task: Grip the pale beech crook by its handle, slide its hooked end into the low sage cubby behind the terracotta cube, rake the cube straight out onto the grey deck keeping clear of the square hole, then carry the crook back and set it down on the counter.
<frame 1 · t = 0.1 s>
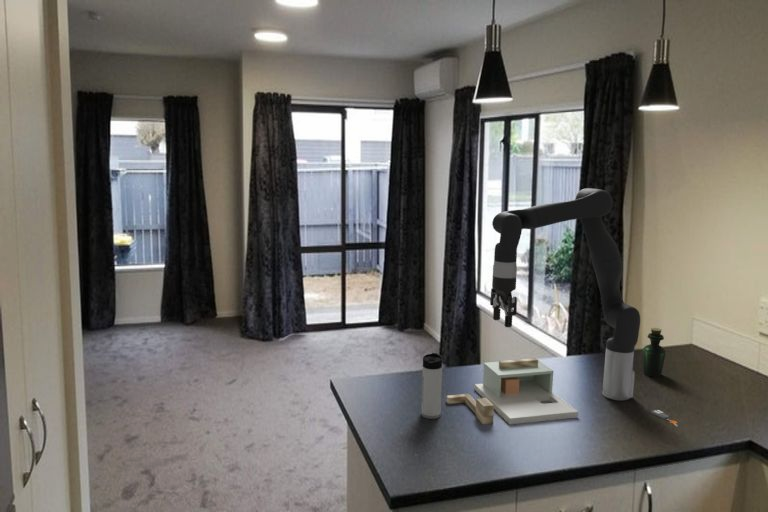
hand: (502, 323, 199), 29 cm above the counter, fingers open, 8 cm apart
deck: (525, 404, 207), on the counter
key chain: (668, 422, 196), on the counter
stick: (518, 366, 215), point 10 cm above the counter, touching deck
potion bottle: (652, 374, 237), on the counter
crook: (484, 419, 195), on the counter
cube: (508, 390, 214), point 2 cm above the counter, touching deck
travel mug: (431, 415, 198), on the counter
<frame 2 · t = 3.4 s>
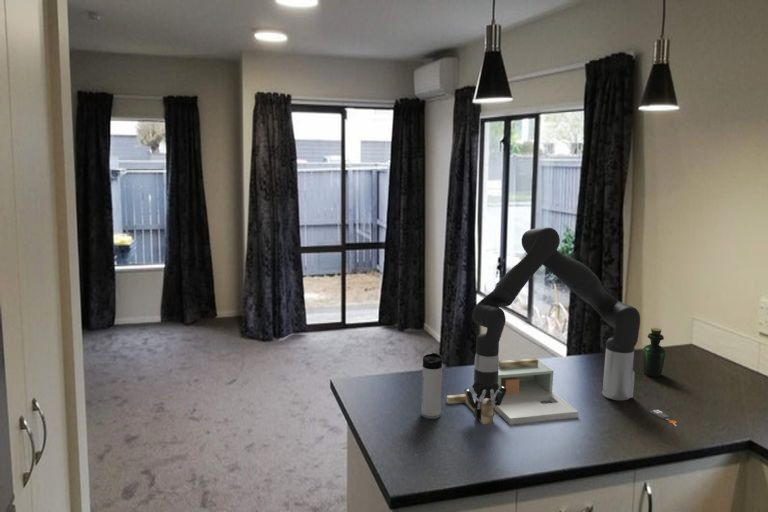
hand: (484, 418, 195), 1 cm above the counter, fingers closed on crook, 3 cm apart
crook: (484, 419, 195), on the counter, touching gripper
everything else where it was.
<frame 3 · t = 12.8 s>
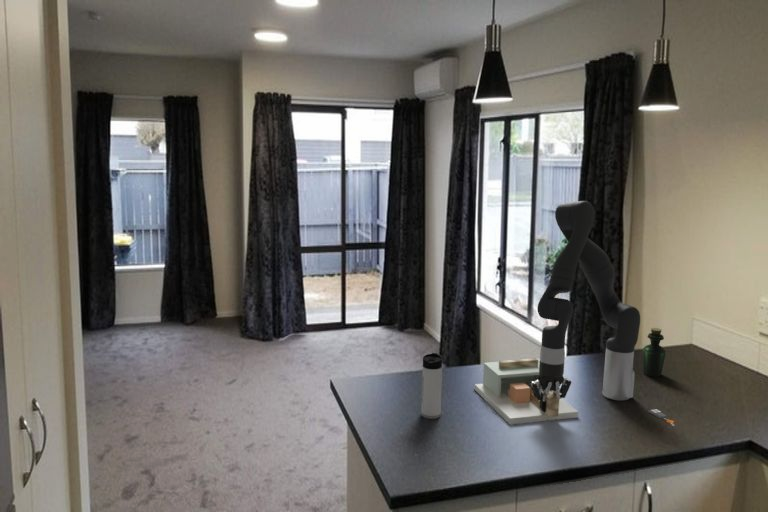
hand: (548, 410, 196), 3 cm above the counter, fingers closed on crook, 3 cm apart
crook: (548, 412, 196), point 2 cm above the counter, touching deck, gripper
cube: (519, 399, 206), point 2 cm above the counter, touching deck
everything else where it was.
when the fingers open (2 cm above the counter, at t = 19.0 s): crook stays where it is, on the counter.
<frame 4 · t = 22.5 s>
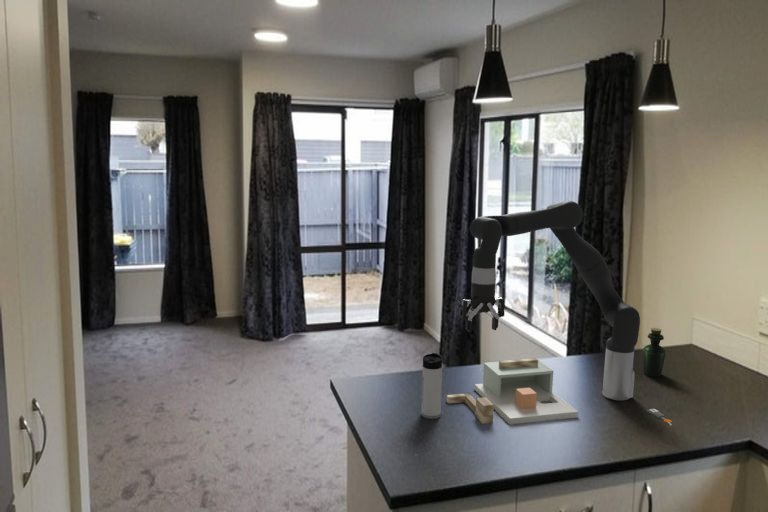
hand: (481, 330, 195), 28 cm above the counter, fingers open, 8 cm apart
crook: (484, 419, 195), on the counter
cube: (525, 405, 201), point 2 cm above the counter, touching deck
at the end: cube inside the target area (1.6 cm from its centre), point 2.0 cm above the counter; cube tilted 0°; crook on the counter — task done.
